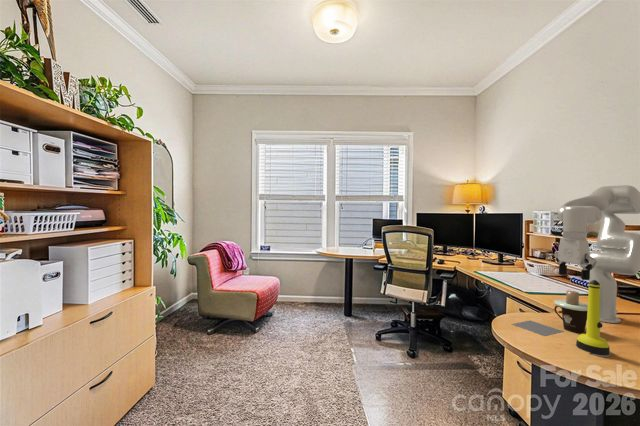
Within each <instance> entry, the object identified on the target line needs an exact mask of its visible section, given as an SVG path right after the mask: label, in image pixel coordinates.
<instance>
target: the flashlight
mask: <svg viewBox="0 0 640 426" xmlns="http://www.w3.org/2000/svg"><path fill="white" fill-rule="evenodd" d="M600 287H601V285H600V284H599V283H598V282H597V281H596V280H592V281H591V282H590V283H589V282H588V298H587V305H588V312H587V322H586V329H585V331H586V333H583V334H580V333H579V335H578V337H577V338H576V344H575V346H576V347H577V348H578V349H580V350H582V351H584V352H587V353H588V355H592V356H596V357H602V358H603V357H604V358H606V357H610V356H611V351H610V345H609V342H608V341H607V339H605V338H603V337H601V334H600V333H601V329H602V328H603V326H604V325H603V322H601V321H600Z"/></svg>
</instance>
